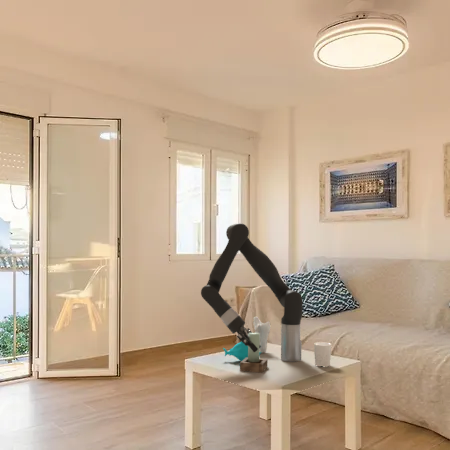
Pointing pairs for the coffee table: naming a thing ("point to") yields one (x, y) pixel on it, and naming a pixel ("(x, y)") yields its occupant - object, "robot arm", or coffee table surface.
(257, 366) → the socket base
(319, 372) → the coffee table surface
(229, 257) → the robot arm
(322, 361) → the white cup
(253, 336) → the post
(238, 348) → the toy shark
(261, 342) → the shell sculpture
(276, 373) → the coffee table surface
